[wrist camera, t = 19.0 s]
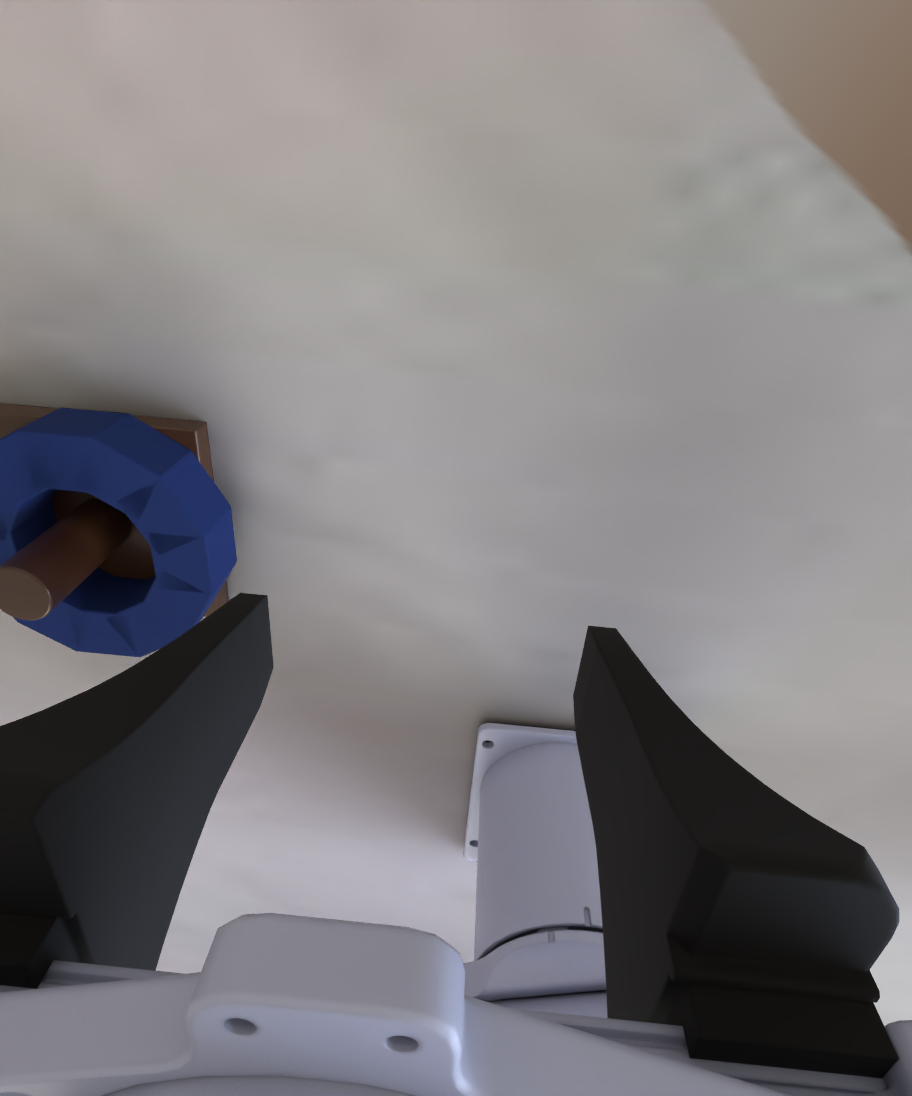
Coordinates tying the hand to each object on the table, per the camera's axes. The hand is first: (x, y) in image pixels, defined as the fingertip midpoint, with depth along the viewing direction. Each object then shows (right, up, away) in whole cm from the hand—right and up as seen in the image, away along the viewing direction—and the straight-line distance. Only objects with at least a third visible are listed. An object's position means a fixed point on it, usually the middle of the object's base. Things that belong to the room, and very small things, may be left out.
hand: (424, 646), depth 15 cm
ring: (-12, +3, +10) cm, 16 cm away
